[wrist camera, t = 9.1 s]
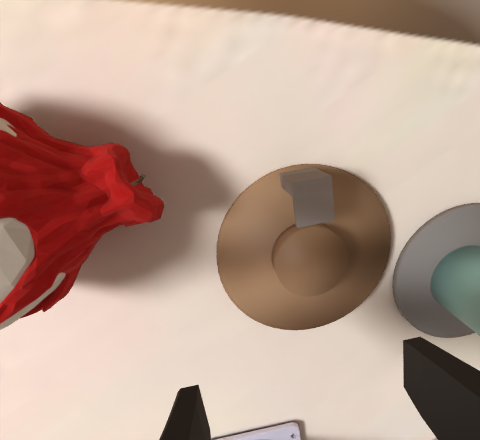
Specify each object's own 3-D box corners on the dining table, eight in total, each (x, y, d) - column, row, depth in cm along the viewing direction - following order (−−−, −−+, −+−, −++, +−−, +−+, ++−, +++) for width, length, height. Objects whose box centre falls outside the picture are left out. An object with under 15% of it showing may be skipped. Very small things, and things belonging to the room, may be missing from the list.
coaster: (520, 317, 25) (527, 322, 24) (393, 344, 24) (398, 350, 24) (535, 190, 22) (544, 192, 21) (391, 218, 21) (396, 221, 21)
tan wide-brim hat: (387, 306, 23) (418, 338, 20) (232, 339, 23) (237, 377, 19) (383, 148, 20) (419, 154, 16) (200, 182, 19) (199, 196, 16)
